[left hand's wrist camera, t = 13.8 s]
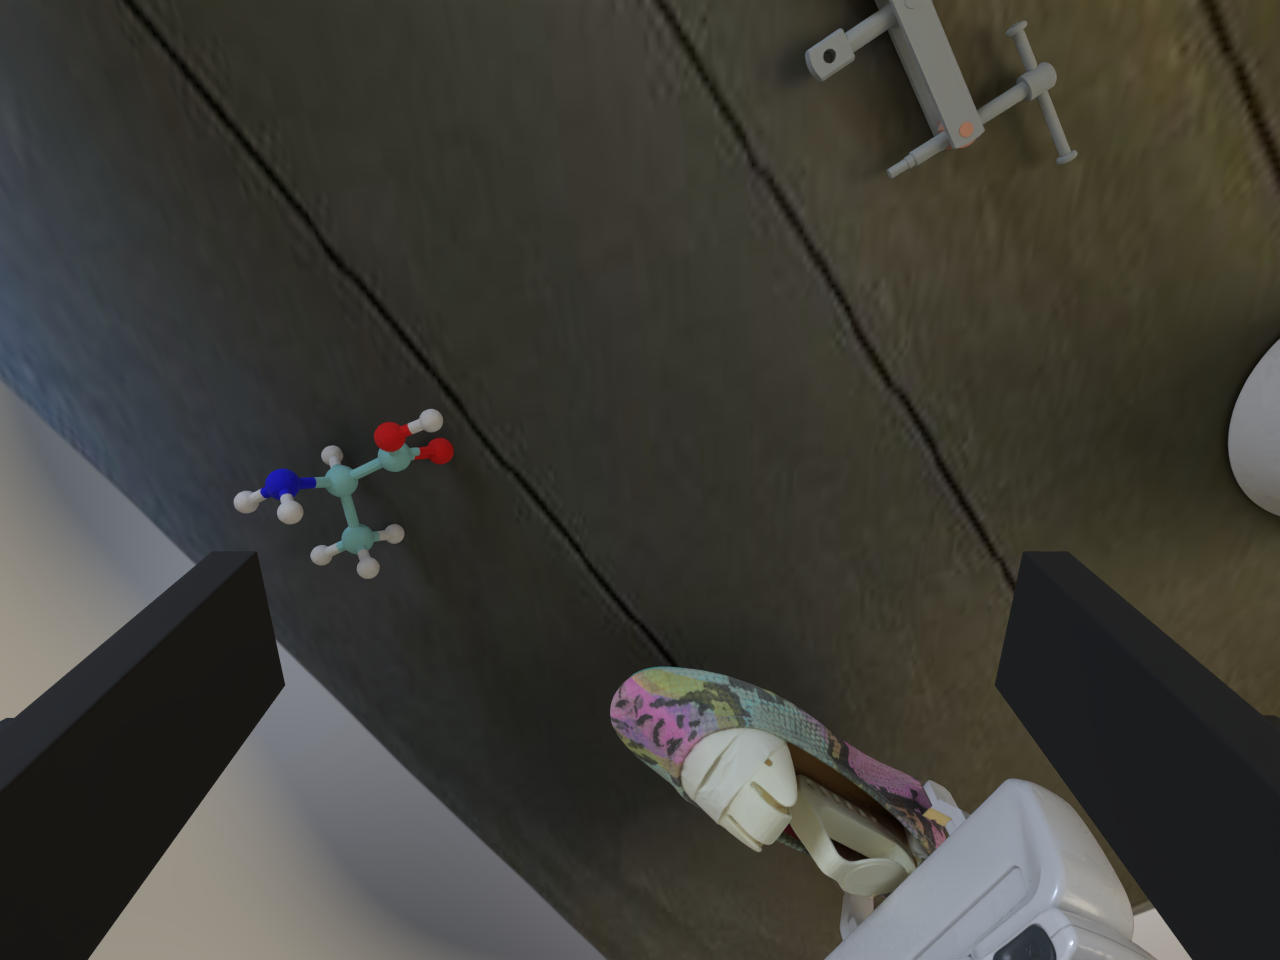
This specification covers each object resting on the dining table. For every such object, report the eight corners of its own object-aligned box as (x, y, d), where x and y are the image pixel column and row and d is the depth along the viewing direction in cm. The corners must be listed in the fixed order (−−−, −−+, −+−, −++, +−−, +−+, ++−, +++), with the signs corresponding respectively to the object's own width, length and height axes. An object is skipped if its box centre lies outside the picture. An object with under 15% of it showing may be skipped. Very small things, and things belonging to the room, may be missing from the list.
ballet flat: (661, 615, 44) (671, 713, 36) (963, 777, 49) (1030, 893, 41) (588, 712, 46) (582, 823, 38) (883, 855, 52) (932, 979, 44)
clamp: (774, -23, 34) (975, -166, 32) (766, -11, 36) (955, -144, 34) (909, 262, 39) (1092, 153, 37) (896, 259, 41) (1068, 154, 39)
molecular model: (452, 607, 45) (322, 625, 36) (344, 553, 49) (201, 556, 40) (509, 429, 44) (391, 400, 35) (395, 387, 48) (261, 352, 39)
